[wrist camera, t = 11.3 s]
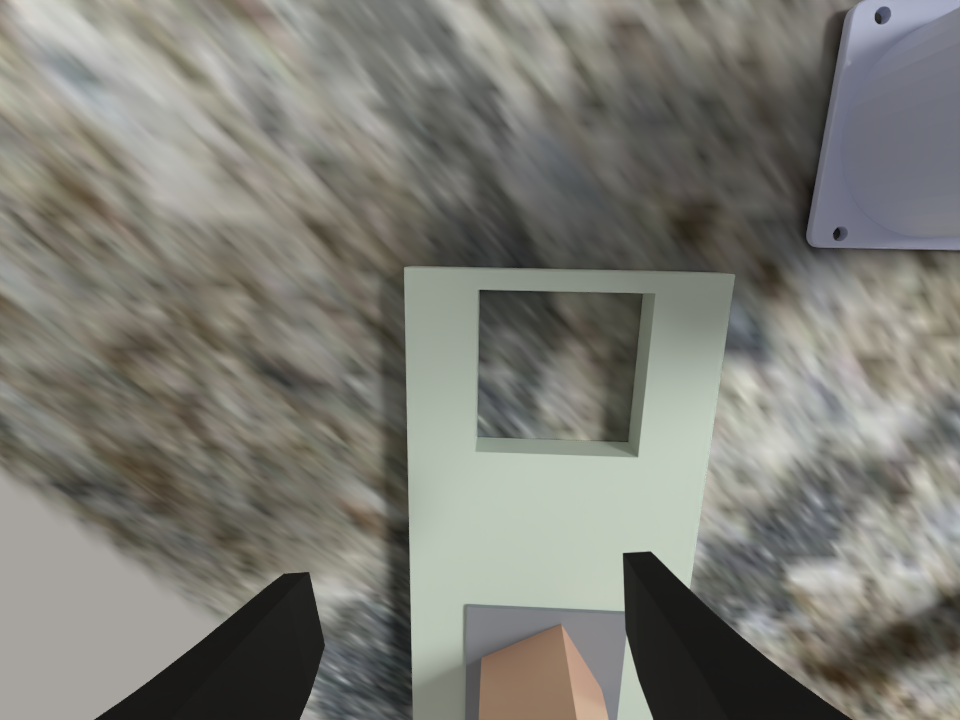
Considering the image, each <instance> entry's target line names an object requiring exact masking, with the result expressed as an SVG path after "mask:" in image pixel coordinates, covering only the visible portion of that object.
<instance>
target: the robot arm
mask: <svg viewBox="0 0 960 720" xmlns="http://www.w3.org/2000/svg"><path fill="white" fill-rule="evenodd" d="M876 12H877V13H879V14H880V15H881V19H882V21H881V24H877V23H876V21H875V16H874V15H875V13H876ZM836 228H838V229H839V230H840V236H839V238H838V239H837V240H835V239H834V238H833V232H834V230H835V229H836ZM806 239H807V241H808V243H809V244H810V245H811V246H813V247H817V248H870V249H924V250H960V0H863V1H861V2H860V3H858V4H857V5H855V6H854V7H852V8H851V9H850V10H849V12H848V13H847V14H846V17H845V20H844V25H843V31H842V36H841V42H840V47H839V53H838V59H837V64H836V70H835V76H834V81H833V87H832V92H831V98H830V104H829V109H828V115H827V121H826V126H825V132H824V137H823V143H822V149H821V154H820V160H819V166H818V171H817V177H816V182H815V188H814V194H813V199H812V205H811V210H810V216H809V222H808V227H807V233H806ZM623 576H624V605H625V630H626V634H627V638H628V642H629V646H630V650H631V654H632V658H633V661H634V665H635V669H636V672H637V676H638V680H639V682H640V685H641V688H642V691H643V693H644V696H645V699H646V702H647V704H648V707H649V710H650V712H651V715H652V718H653V720H852V719H850V718H849V717H848V716H846V715H845V714H843V713H842V712H840V711H839V710H837V709H836V708H834V707H833V706H831V705H830V704H828V703H827V702H826V701H824V700H823V699H821V698H820V697H819V696H817V695H816V694H814V693H813V692H812V691H810V690H809V689H808V688H806V687H805V686H803V685H802V684H801V683H799V682H798V681H797V680H795V679H794V678H792V677H791V676H790V675H788V674H787V673H786V672H784V671H783V670H782V669H780V668H779V667H778V666H777V665H775V664H774V663H773V662H771V661H770V660H769V659H768V658H766V657H765V656H764V655H763V654H761V653H760V652H759V651H758V650H757V649H755V648H754V647H753V646H752V645H751V644H749V643H748V642H747V641H746V640H745V639H743V638H742V637H741V636H740V635H739V634H738V633H737V632H735V631H734V630H733V629H732V628H731V627H730V626H728V625H727V624H726V623H725V622H724V621H723V620H722V619H721V618H720V617H719V616H717V615H716V614H715V613H714V612H713V611H712V610H711V609H710V608H709V607H708V606H706V605H705V604H704V603H703V602H702V601H701V600H700V599H699V598H698V597H697V596H696V595H695V594H694V593H693V592H692V591H691V590H690V589H689V588H688V587H687V586H686V585H685V584H683V583H682V582H681V581H680V580H679V579H678V578H677V577H676V576H675V575H674V574H673V573H672V572H671V571H670V570H669V569H668V568H667V567H666V566H665V565H664V564H663V563H662V562H661V561H660V560H659V559H658V558H657V557H656V556H655V555H654V554H653V553H652V552H651V551H646V552H630V553H623ZM324 647H325V643H324V639H323V634H322V630H321V625H320V620H319V616H318V611H317V606H316V602H315V597H314V593H313V588H312V583H311V579H310V574H309V572H304V573H288V574H283V575H282V576H280V577H279V578H277V579H276V580H275V581H274V582H272V583H271V584H270V585H268V586H267V587H266V588H265V589H263V590H262V591H261V592H260V593H259V594H257V595H256V596H255V597H254V598H253V599H251V600H250V601H249V602H248V603H247V604H245V605H244V606H243V607H242V608H241V609H239V610H238V611H237V612H236V613H235V614H233V615H232V616H231V617H230V618H228V619H227V620H226V621H225V622H224V623H222V624H221V625H220V626H219V627H217V628H216V629H215V630H214V631H213V632H212V633H210V634H209V635H208V636H207V637H205V638H204V639H203V640H202V641H201V642H199V643H198V644H197V645H195V646H194V647H193V648H192V649H190V650H189V651H188V652H186V653H185V654H184V655H182V656H181V657H180V658H179V659H177V660H176V661H175V662H174V663H172V664H171V665H169V666H168V667H167V668H166V669H164V670H163V671H162V672H160V673H159V674H158V675H156V676H155V677H154V678H153V679H151V680H150V681H149V682H147V683H146V684H145V685H143V686H142V687H140V688H139V689H138V690H136V691H135V692H134V693H132V694H131V695H129V696H128V697H127V698H125V699H124V700H123V701H121V702H119V703H118V704H117V705H115V706H114V707H112V708H111V709H109V710H108V711H106V712H105V713H103V714H102V715H100V716H99V717H98V718H96V719H95V720H300V717H301V715H302V713H303V710H304V708H305V705H306V703H307V701H308V698H309V696H310V693H311V690H312V687H313V684H314V680H315V677H316V674H317V671H318V667H319V664H320V660H321V657H322V654H323V650H324Z"/></svg>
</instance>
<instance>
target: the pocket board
mask: <svg viewBox="0 0 960 720" xmlns="http://www.w3.org/2000/svg"><path fill="white" fill-rule="evenodd" d="M734 281H735V274H728V273H719V272H684V271H635V270H586V269H537V268H489V267H440V266H409V267H404V293H405V344H406V394H407V444H408V494H409V544H410V594H411V644H412V694H413V720H479V701H480V679H481V658H482V657H485V656H487V655H489V654H492V653H494V652H496V651H499V650H501V649H503V648H506V647H508V646H510V645H513V644H515V643H517V642H520V641H522V640H524V639H527V638H529V637H531V636H534V635H536V634H538V633H541V632H543V631H545V630H548V629H550V628H552V627H555V626H557V625H559V624H562V626H563V627H564V629H565V631H566V632H567V634H568V636H569V637H570V639H571V640H572V642H573V644H574V645H575V647H576V649H577V650H578V652H579V653H580V655H581V657H582V658H583V660H584V662H585V663H586V665H587V666H588V668H589V670H590V671H591V673H592V675H593V676H594V678H595V679H596V681H597V683H598V684H599V686H600V688H601V689H602V693H603V697H604V701H605V706H606V710H607V714H608V719H609V720H653V718H652V715H651V712H650V710H649V707H648V704H647V702H646V699H645V696H644V693H643V691H642V688H641V685H640V682H639V680H638V676H637V672H636V669H635V665H634V661H633V658H632V654H631V650H630V646H629V642H628V638H627V634H626V630H625V605H624V576H623V553H630V552H646V551H651V552H652V553H653V554H654V555H655V556H656V557H657V558H658V559H659V560H660V561H661V562H662V563H663V564H664V565H665V566H666V567H667V568H668V569H669V570H670V571H671V572H672V573H673V574H674V575H675V576H676V577H677V578H678V579H679V580H680V581H681V582H682V583H683V584H685V585H686V586H687V587H688V588H689V589H690V582H691V575H692V569H693V562H694V555H695V548H696V541H697V534H698V527H699V521H700V514H701V507H702V500H703V493H704V486H705V480H706V473H707V466H708V459H709V452H710V445H711V438H712V432H713V425H714V418H715V411H716V404H717V397H718V390H719V384H720V377H721V370H722V363H723V356H724V349H725V342H726V336H727V329H728V322H729V315H730V308H731V301H732V294H733V288H734ZM480 290H516V291H561V292H607V293H643V299H642V309H641V319H640V329H639V339H638V349H637V359H636V369H635V379H634V389H633V399H632V409H631V419H630V428H629V438H628V442H606V441H577V440H547V439H518V438H488V437H477V414H478V358H479V303H480Z"/></svg>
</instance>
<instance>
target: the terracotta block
mask: <svg viewBox="0 0 960 720" xmlns="http://www.w3.org/2000/svg"><path fill="white" fill-rule="evenodd" d="M479 720H609V719H608V714H607V710H606V706H605V701H604V697H603V693H602V689H601V688H600V686H599V684H598V683H597V681H596V679H595V678H594V676H593V675H592V673H591V671H590V670H589V668H588V666H587V665H586V663H585V662H584V660H583V658H582V657H581V655H580V653H579V652H578V650H577V649H576V647H575V645H574V644H573V642H572V640H571V639H570V637H569V636H568V634H567V632H566V631H565V629H564V627H563V626H562V624H559V625H557V626H555V627H552V628H550V629H548V630H545V631H543V632H541V633H538V634H536V635H534V636H531V637H529V638H527V639H524V640H522V641H520V642H517V643H515V644H513V645H510V646H508V647H506V648H503V649H501V650H499V651H496V652H494V653H492V654H489V655H487V656H485V657H482V658H481V679H480V701H479Z"/></svg>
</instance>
